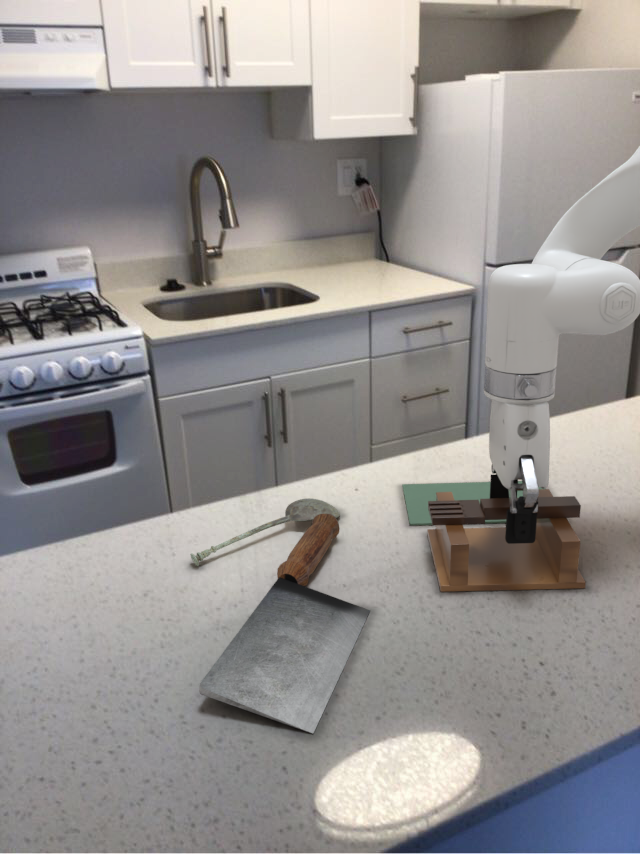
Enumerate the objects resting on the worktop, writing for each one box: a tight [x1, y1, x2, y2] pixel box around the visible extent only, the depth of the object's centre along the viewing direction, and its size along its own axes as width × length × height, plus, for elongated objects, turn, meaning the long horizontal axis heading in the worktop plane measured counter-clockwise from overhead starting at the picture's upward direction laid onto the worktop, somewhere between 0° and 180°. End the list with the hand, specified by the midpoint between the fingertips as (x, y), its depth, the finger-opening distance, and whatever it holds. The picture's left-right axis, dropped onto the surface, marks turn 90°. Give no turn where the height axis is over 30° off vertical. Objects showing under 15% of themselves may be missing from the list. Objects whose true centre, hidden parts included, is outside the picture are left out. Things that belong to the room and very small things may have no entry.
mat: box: [401, 480, 546, 526], centre depth 104 cm, size 20×12×1 cm, turn 89°
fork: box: [428, 495, 582, 526], centre depth 88 cm, size 17×4×2 cm, turn 89°
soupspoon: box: [190, 497, 341, 567], centre depth 97 cm, size 22×3×7 cm
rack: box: [426, 488, 587, 593], centre depth 89 cm, size 16×13×6 cm
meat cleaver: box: [198, 514, 371, 734], centre depth 81 cm, size 34×11×4 cm, turn 162°
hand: (511, 522), depth 88 cm, fingers open, 8 cm apart
